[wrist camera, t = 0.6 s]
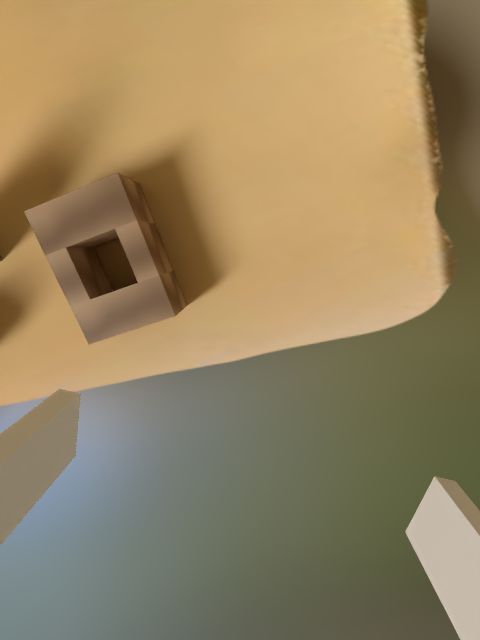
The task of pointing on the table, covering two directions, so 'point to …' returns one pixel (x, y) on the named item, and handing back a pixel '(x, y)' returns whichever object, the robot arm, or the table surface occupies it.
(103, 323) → the bore block
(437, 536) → the robot arm
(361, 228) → the table surface
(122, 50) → the table surface
